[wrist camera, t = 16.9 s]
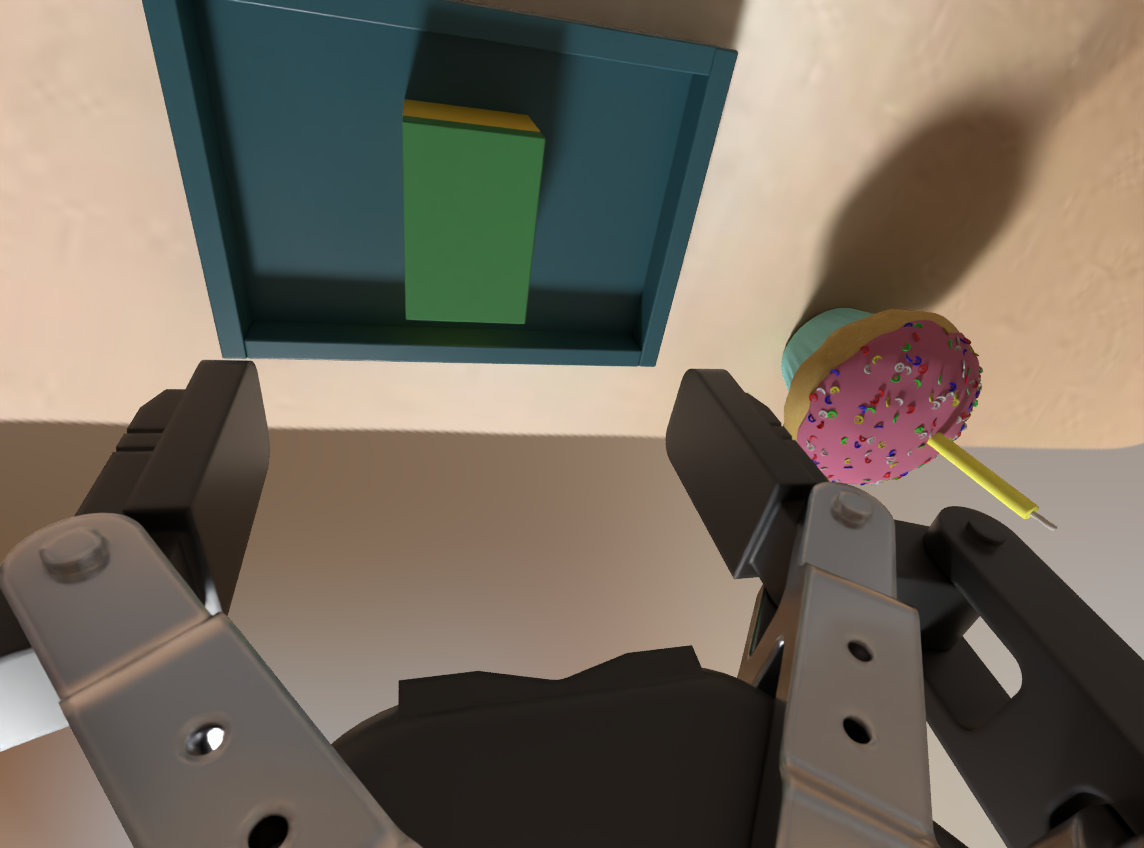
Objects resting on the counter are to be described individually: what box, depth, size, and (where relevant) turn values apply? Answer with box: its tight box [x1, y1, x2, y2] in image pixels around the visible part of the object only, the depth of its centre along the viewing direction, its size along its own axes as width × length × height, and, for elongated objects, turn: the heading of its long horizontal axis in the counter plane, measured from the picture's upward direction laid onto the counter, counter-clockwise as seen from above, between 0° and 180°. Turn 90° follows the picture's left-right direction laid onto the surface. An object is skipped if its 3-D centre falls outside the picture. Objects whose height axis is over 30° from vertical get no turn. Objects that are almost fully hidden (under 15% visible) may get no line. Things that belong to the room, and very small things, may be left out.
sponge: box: [402, 99, 545, 324], centre depth 20 cm, size 6×4×4 cm, turn 171°
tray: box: [142, 0, 738, 367], centre depth 21 cm, size 17×12×2 cm
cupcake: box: [782, 308, 1057, 530], centre depth 25 cm, size 9×8×12 cm
